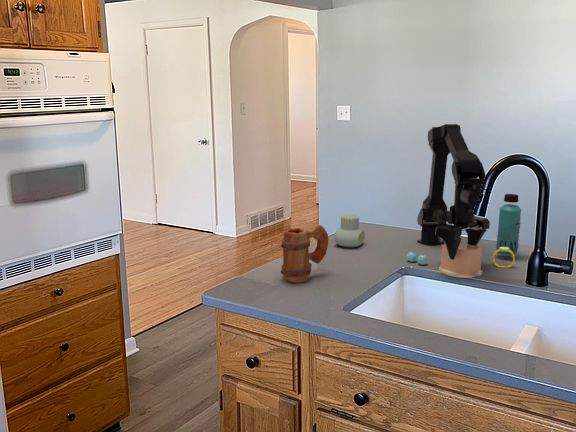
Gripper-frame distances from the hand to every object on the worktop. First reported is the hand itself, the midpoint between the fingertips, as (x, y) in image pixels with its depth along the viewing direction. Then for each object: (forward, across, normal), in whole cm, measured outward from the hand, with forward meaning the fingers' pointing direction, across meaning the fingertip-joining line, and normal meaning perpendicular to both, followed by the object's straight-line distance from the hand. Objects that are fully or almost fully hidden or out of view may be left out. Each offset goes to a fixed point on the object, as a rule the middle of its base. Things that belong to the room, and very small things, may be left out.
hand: (461, 256), depth 166 cm
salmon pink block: (+4, 0, 0) cm, 4 cm away
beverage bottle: (+5, -22, +2) cm, 23 cm away
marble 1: (+5, +3, -15) cm, 16 cm away
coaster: (+5, 0, 0) cm, 5 cm away
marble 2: (+5, +3, -11) cm, 12 cm away
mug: (+5, +38, -25) cm, 46 cm away
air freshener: (+5, +4, -40) cm, 41 cm away
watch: (+5, -13, +6) cm, 15 cm away
